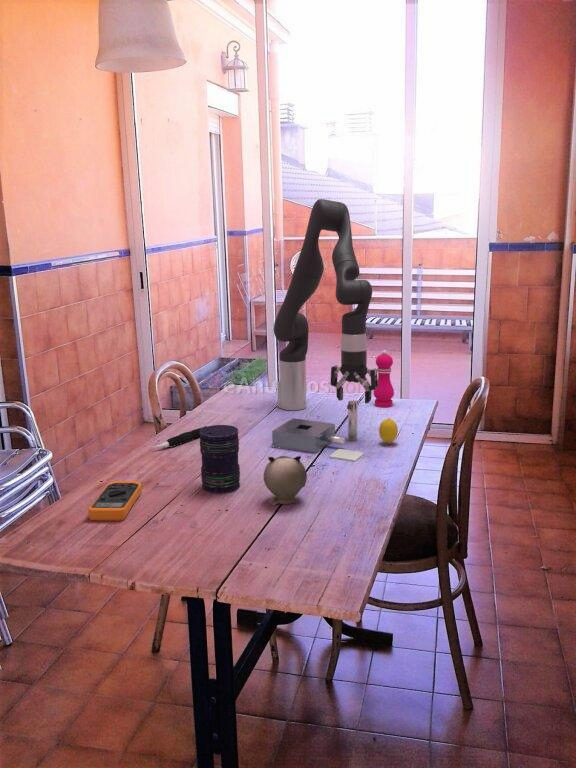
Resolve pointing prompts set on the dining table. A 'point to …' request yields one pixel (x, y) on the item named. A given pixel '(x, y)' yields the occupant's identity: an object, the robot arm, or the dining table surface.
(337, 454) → the mat
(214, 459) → the camera lens
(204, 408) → the dining table surface
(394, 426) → the lemon
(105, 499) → the multimeter
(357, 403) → the chuck key
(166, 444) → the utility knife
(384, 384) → the pepper mill
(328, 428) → the block
